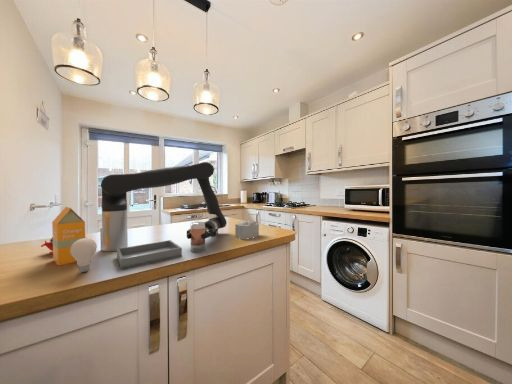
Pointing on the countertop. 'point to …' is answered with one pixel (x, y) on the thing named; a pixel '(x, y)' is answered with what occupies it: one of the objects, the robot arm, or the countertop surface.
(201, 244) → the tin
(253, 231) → the grey rough block
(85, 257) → the light bulb
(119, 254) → the tote
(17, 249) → the countertop surface
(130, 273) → the countertop surface
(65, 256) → the orange juice
